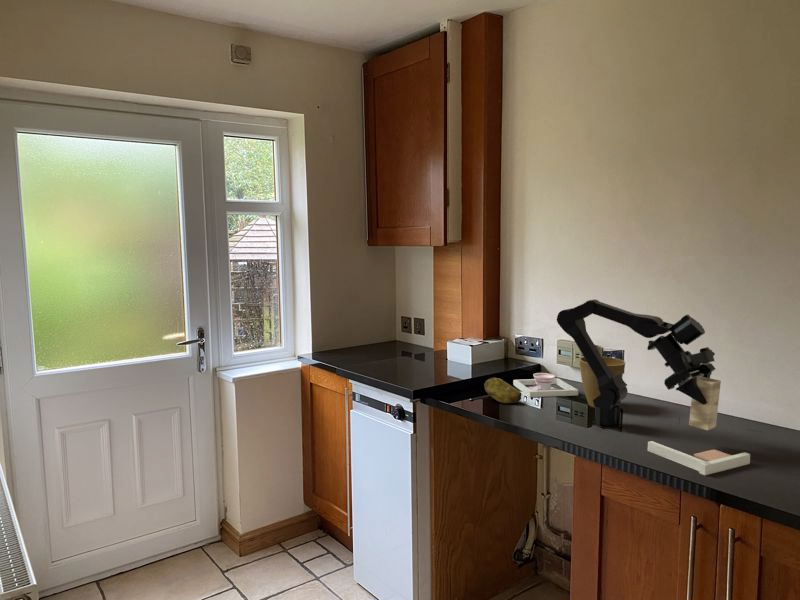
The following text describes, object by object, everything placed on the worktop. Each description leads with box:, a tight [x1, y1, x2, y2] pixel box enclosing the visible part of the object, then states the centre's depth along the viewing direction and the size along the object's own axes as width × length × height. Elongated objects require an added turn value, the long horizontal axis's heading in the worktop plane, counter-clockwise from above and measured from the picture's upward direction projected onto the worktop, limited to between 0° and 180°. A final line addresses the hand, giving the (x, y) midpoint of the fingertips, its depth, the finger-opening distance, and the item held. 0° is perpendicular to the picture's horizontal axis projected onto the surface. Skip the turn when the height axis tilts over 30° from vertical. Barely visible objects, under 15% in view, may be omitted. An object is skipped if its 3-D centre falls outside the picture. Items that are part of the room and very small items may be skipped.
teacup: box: [528, 372, 559, 391], centre depth 221 cm, size 12×12×6 cm
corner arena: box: [647, 440, 751, 476], centre depth 154 cm, size 18×17×2 cm
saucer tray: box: [512, 377, 579, 398], centre depth 223 cm, size 18×18×2 cm
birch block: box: [688, 377, 722, 431], centre depth 161 cm, size 5×5×13 cm
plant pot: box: [579, 356, 626, 409], centre depth 201 cm, size 15×15×16 cm
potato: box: [483, 377, 522, 404], centre depth 207 cm, size 8×13×8 cm, turn 40°
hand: (710, 402), depth 159 cm, fingers closed on birch block, 5 cm apart
